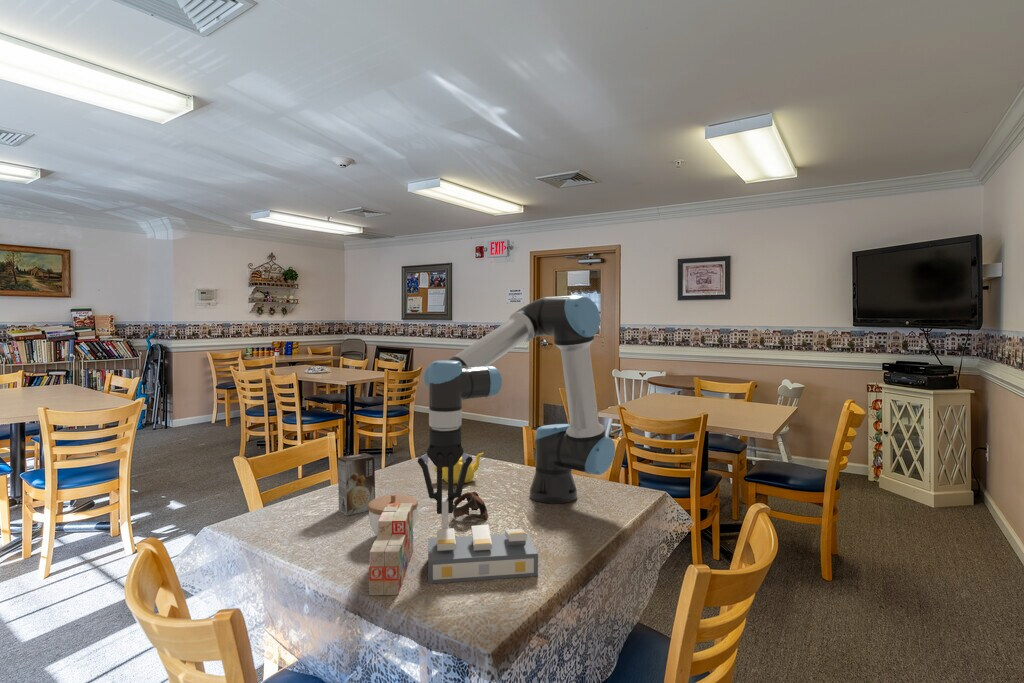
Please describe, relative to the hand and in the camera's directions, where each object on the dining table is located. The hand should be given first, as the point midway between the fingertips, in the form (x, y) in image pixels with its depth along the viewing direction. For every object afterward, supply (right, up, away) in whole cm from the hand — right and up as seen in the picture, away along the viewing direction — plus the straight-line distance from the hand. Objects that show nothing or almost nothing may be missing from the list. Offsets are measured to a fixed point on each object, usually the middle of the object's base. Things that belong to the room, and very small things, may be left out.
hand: (444, 526), depth 126 cm
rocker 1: (+1, -2, -5) cm, 5 cm away
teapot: (-3, -6, +66) cm, 66 cm away
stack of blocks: (-11, -9, -5) cm, 15 cm away
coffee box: (-31, -7, +34) cm, 46 cm away
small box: (+17, -2, -2) cm, 17 cm away
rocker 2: (+9, -2, -3) cm, 10 cm away
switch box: (+9, -8, -3) cm, 12 cm away
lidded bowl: (-15, -8, +14) cm, 22 cm away
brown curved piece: (+4, -7, +29) cm, 30 cm away
